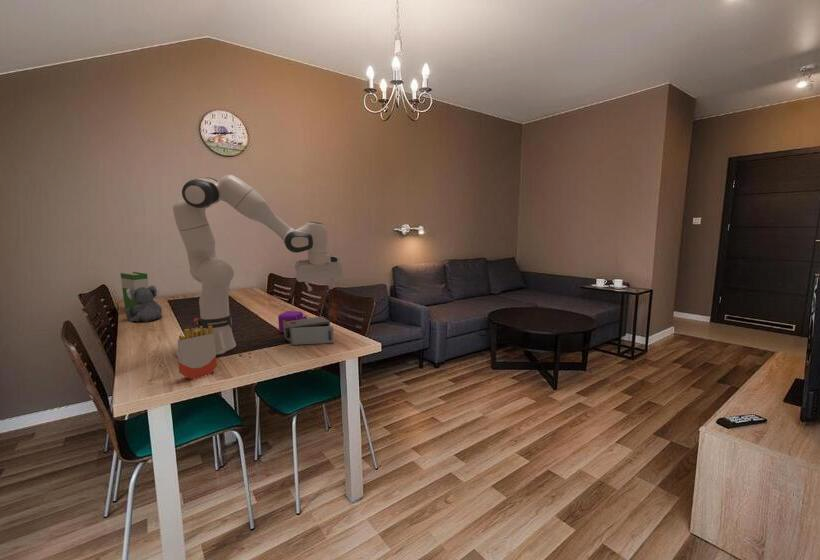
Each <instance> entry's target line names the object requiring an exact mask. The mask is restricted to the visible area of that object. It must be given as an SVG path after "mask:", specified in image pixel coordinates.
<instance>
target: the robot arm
mask: <svg viewBox="0 0 820 560" xmlns="http://www.w3.org/2000/svg"><path fill="white" fill-rule="evenodd" d="M181 196H182V199H180V200H178V201H176V202H175V203H174V204H173V207H172V211H173V217H174V221H175V224H176V227H177V229H178V232H179V235H180V238H181V240H182V242H183V245H184V248H185V250H186V255H187V259H188V265H189V273H190V275H191V277H192V278H193V279H194V280H195V281H197V282H198V283H201V293H200V297H199V299H198V304H199V305H198V306H199V315H200V317H195V318H193V322H194V324H195V328H194V331H199V330H200V326H202V327H203V329H204V328H206V329H207V333H208V326H212V330H213V333H214V340H215V350H216V356H217V355H222V354H224V353H227V352H228V351H230V350H233V349H234V348H235V347H237V343H236V341H235V338H234V333H233V330H232V326H233V323H232V322H233V321H232V316H231V314H230V305H229V295H230V294H229V293H230V286H231V282H232V281H233V278H234V276H235V273H234V268H232V266H231V265H230V264H229V263H227V262H226V261H224V260H221V259H218V257H217V254H216V253H217V252H216V240H215V237H214V235H213V232H212V229H211V226H210V224H209V221H208V218H207V215H206V209H207V208H210V207H212V206H213V205H215V204H217V203H219V202H220V201H221V202H225V203H227V204H228V205H230V206H231V208H233V209H234V210H236V211H237V212H238V213H240V214H241V215H243V216H244V217H246V218H248V219H250V220H253V221H255V222H258V223H261V224H263V225H264V226H266V227H267V228H269V229H270V230H271V231H272V232H273V233H275V234H276V235H278V237H280V238H281V240H282V241H283V244H284V245H285V248H286V249H287V250H288V251H289V252H292V253H294V254H299V253H302V252H306V251H307V258H308V259H304V260H297V261H296V262H295V263H294V270H295V273H296V274H295V279H296V281H297V282H299V283H304V284H305V285H306V287H307V291H308V292H312V291H313V286H310V282H314V281H323V280H330V281H331V282H330V283H329V284H328V288H329V289H332V290H333V289H334V284H335V282H336V279H341V278H342V277H343V275H344V273H343V272H344V271H343V267H342V264H341V262H340V257H338V256H335V255H333V254H330V253H329V248H328V242H329V241H328V231H327V227H326V226H325V224H323V222H318V221H317V222H316V221H307V222H306V223H305V224H304V225H302V226H300V227H298V228H294V227H292V226H291V225H289V224H288V223H286V222H285V221H284V220H283V219H281V218H280V217H279V216H278V215H277V214H275V212H274V211H273V210H272V208H271V207H270V205H269V203H268V202H267V201H266V199H264V197H263V196H262V195H261V194H260V193H259V192H258V191H257V190H256V189H254V187H252V186H251V185H249V184H247V183H246V182H245V181H244V180H243V179H240V178H239V177H237V176H235V175H233V174H226V175H223V176H222V177H221V178H220V179H217V180H216V179H215V178H212V177H197V178H194V179H190V180H188V181H187V182H185V184H184V185H183V187H182V190H181ZM190 333H191V331H190ZM190 337H191V335H190ZM184 339H185V336H184ZM176 357H177V358H178V349H177V350H176Z"/></svg>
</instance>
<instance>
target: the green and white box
mask: <svg viewBox="0 0 820 560" xmlns="http://www.w3.org/2000/svg"><path fill="white" fill-rule="evenodd" d="M120 281H121V288H122V289H121V290H122V296H123V303H124V304H123V305H124V311H125V310H127V309H128V308H132V309H133V308H134V306H135V305H138V304H137V303H136V302H135V301H134V300H131V299H130V298H128V295H127V293H126V290H127V289H135V290H136V289H138V288H139V287H146V288H148V287H150V286H149V278H148V273H144V272H143V273H142V272H136V271H132V272H131V273H124V272H122V273H121V272H120Z"/></svg>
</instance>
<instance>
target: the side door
mask: <svg viewBox="0 0 820 560" xmlns="http://www.w3.org/2000/svg"><path fill="white" fill-rule="evenodd" d="M290 332H291V343H290V345H291V346H294V345H295V346H297V345H316V344H332V343H333V344H334V343H335V339H334V336H335V335H334V325H330V326H325V327H303V328H290Z"/></svg>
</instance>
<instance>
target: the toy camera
mask: <svg viewBox="0 0 820 560" xmlns="http://www.w3.org/2000/svg"><path fill="white" fill-rule="evenodd" d="M277 318H278V331H279V332H280V333H282V334H284V328H285V322H287V321H294V320H300V319H307V318H308V317H307V316H306V315H305V316H304V313H303V312H302V311H297V310H294V311H293V310H291V309H287V310H286V311H285V312H283V313H280V314H279V315H278V316H277Z"/></svg>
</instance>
